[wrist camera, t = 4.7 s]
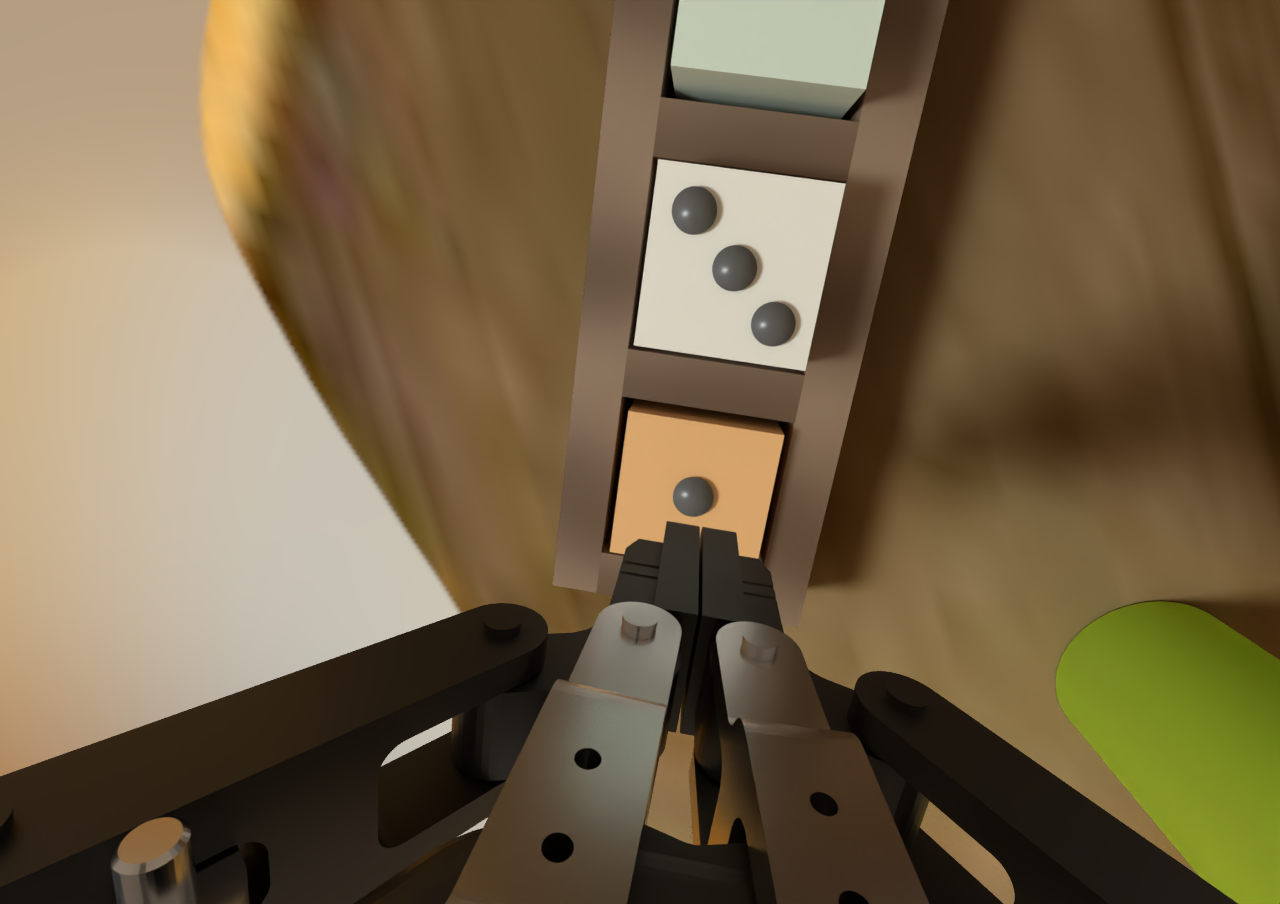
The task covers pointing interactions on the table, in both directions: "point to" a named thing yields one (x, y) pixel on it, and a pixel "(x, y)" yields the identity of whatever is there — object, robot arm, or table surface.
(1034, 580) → the table surface
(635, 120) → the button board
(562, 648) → the robot arm
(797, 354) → the three dot button
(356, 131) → the table surface
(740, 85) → the two dot button
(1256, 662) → the soap dispenser
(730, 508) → the one dot button
